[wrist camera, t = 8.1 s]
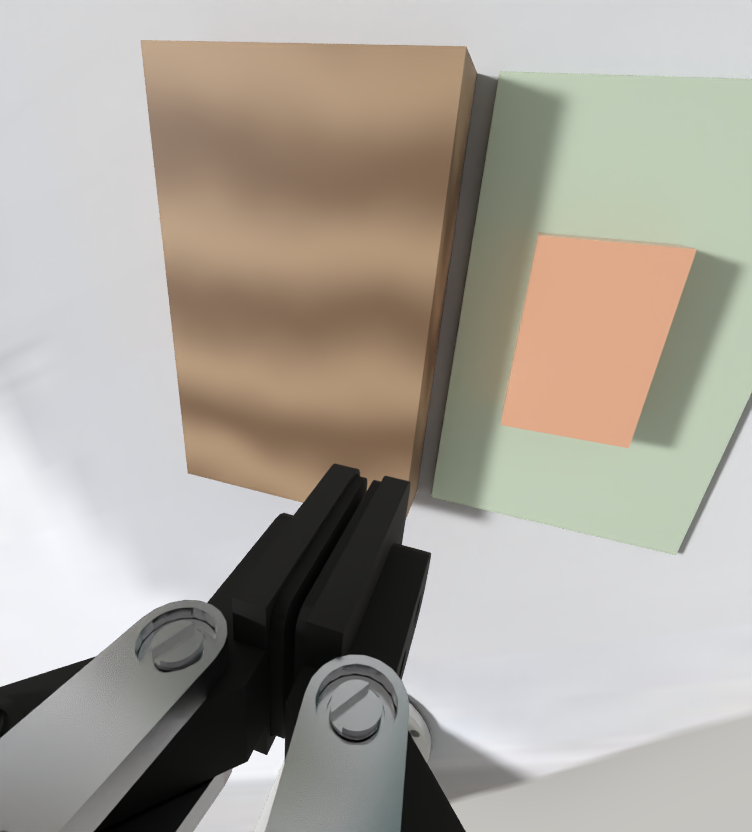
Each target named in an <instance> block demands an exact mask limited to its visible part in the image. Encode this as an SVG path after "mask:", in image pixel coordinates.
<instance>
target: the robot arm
mask: <svg viewBox="0 0 752 832" xmlns="http://www.w3.org/2000/svg"><path fill="white" fill-rule="evenodd" d="M409 493H410V481H406V480H402V479H398V478H394V477H390V476H384V477H383V479H382V481H377V480H373V481H372V483H371V485H370V486H369V488H368V490H367V478H365V477H361V476H360V470H359V469H356V468H352V467H348V466H344V465H340V464H336V463H335V464H333V465H332V466H331V467H330V468H329V470H328V471H327V472H326V474H325V475H324V476H323V478H322V479H321V480H320V482H319V483H318V484H317V486H316V487H315V488H314V489H313V491H312V492H311V493H310V495H309V496H308V497H307V499H306V500H305V501H304V503H303V504H302V505H301V507H300V508H299V509H298V510H297V512H296V513H295V514H294V516H293V515H290V514H286V513H282V514H280V515H279V516H278V517H277V518H276V519H275V520H274V521H273V523H272V524H271V525H270V526H269V527H268V529H267V530H266V531H265V532H264V534H263V535H262V536H261V537H260V539H259V540H258V541H257V542H256V543H255V545H254V546H253V547H252V548H251V550H250V551H249V552H248V553H247V555H246V556H245V557H244V558H243V559H242V561H241V562H240V563H239V564H238V566H237V567H236V568H235V569H234V571H233V572H232V573H231V574H230V575H229V577H228V578H227V579H226V580H225V582H224V583H223V584H222V585H221V587H220V588H219V589H218V590H217V591H216V593H215V594H214V595H213V596H212V598H211V599H210V600H209V601H208V603H205V602H202V601H197V600H182V601H177V602H172V603H168V604H166V605H164V606H161V607H159V608H156V609H154V610H153V611H151V612H150V613H148V614H147V615H146V616H144V617H143V618H141V619H140V620H139V621H138V622H137V623H135V624H134V625H133V626H132V627H131V628H129V629H128V630H127V631H126V632H125V633H124V634H122V635H121V636H120V637H119V638H118V639H117V640H115V641H114V642H113V643H112V644H111V645H109V646H108V647H107V648H106V649H105V650H104V651H102V652H101V653H100V654H99V655H98V656H96V657H93V658H90V659H87V660H83V661H80V662H77V663H74V664H71V665H68V666H65V667H62V668H58V669H55V670H52V671H49V672H46V673H43V674H40V675H37V676H33V677H30V678H27V679H24V680H21V681H18V682H15V683H11V684H8V685H5V686H2V687H0V832H193V831H194V830H195V828H196V827H197V825H198V824H199V822H200V821H201V819H202V818H203V816H204V815H205V814H206V812H207V811H208V809H209V808H210V806H211V805H212V803H213V802H214V800H215V799H216V797H217V796H218V795H219V793H220V792H221V790H222V789H223V787H224V786H225V784H226V782H227V780H228V778H229V776H230V774H231V772H232V768H234V767H236V766H238V765H241V764H243V763H245V762H247V761H248V760H249V758H250V756H251V754H252V752H253V750H255V751H258V752H260V753H263V754H265V755H267V754H268V752H269V750H270V748H271V745H272V743H273V741H274V739H275V737H276V736H278V737H281V738H285V760H284V762H283V764H282V767H281V769H280V771H279V773H278V776H277V778H276V780H275V783H274V785H273V787H272V789H271V792H270V794H269V796H268V799H267V801H266V803H265V805H264V808H263V810H262V812H261V815H260V817H259V819H258V821H257V824H256V826H255V828H254V830H253V832H466V831H465V830H464V828H463V826H462V824H461V823H460V821H459V819H458V818H457V816H456V814H455V812H454V810H453V809H452V807H451V805H450V803H449V801H448V800H447V798H446V796H445V794H444V793H443V791H442V789H441V787H440V786H439V784H438V782H437V780H436V778H435V777H434V775H433V773H432V771H431V770H430V768H429V766H428V764H427V763H428V760H429V756H430V750H431V735H430V732H429V730H428V727H427V725H426V723H425V721H424V720H423V718H422V716H421V715H420V713H419V712H418V711H417V710H416V709H415V708H414V707H413V705H412V704H411V703H410V702H409V701H408V694H407V692H406V689H405V687H404V684H403V682H402V676H403V673H404V669H405V665H406V661H407V658H408V654H409V650H410V646H411V643H412V639H413V635H414V631H415V628H416V624H417V620H418V616H419V612H420V608H421V603H422V599H423V594H424V590H425V585H426V580H427V574H428V569H429V564H430V558H431V553H429V552H426V551H422V550H418V549H415V548H411V547H407V546H404V545H402V539H403V533H404V526H405V519H406V513H407V506H408V500H409Z"/></svg>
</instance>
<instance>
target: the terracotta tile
mask: <svg viewBox="0 0 752 832" xmlns="http://www.w3.org/2000/svg"><path fill="white" fill-rule="evenodd" d="M696 250H697V249H694V248H691V247H687V246H684V245H680V244H669V243H658V242H646V241H635V240H623V239H612V238H600V237H589V236H578V235H566V234H555V233H543V232H538V235H537V240H536V245H535V250H534V254H533V259H532V264H531V269H530V274H529V279H528V284H527V289H526V294H525V299H524V304H523V309H522V314H521V319H520V324H519V329H518V334H517V339H516V344H515V349H514V354H513V359H512V364H511V369H510V374H509V379H508V384H507V389H506V394H505V399H504V404H503V410H502V418H501V425H503V426H508V427H514V428H519V429H525V430H531V431H536V432H542V433H547V434H553V435H558V436H564V437H569V438H575V439H580V440H586V441H591V442H597V443H602V444H608V445H613V446H619V447H624V448H629V446H630V443H631V441H632V438H633V435H634V432H635V429H636V426H637V423H638V420H639V417H640V414H641V411H642V408H643V405H644V403H645V400H646V397H647V394H648V391H649V388H650V385H651V382H652V379H653V376H654V373H655V370H656V367H657V364H658V362H659V359H660V356H661V353H662V350H663V347H664V344H665V341H666V338H667V335H668V332H669V329H670V326H671V324H672V321H673V318H674V315H675V312H676V309H677V306H678V303H679V300H680V297H681V294H682V291H683V288H684V285H685V283H686V280H687V277H688V274H689V271H690V268H691V265H692V262H693V259H694V256H695V253H696Z"/></svg>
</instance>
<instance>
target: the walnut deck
mask: <svg viewBox="0 0 752 832" xmlns="http://www.w3.org/2000/svg"><path fill="white" fill-rule="evenodd" d="M141 48H142V57H143V67H144V76H145V85H146V94H147V103H148V112H149V122H150V131H151V140H152V149H153V158H154V167H155V176H156V186H157V195H158V204H159V213H160V222H161V231H162V241H163V250H164V259H165V268H166V277H167V286H168V295H169V305H170V314H171V323H172V332H173V341H174V350H175V360H176V369H177V378H178V387H179V396H180V405H181V414H182V424H183V433H184V442H185V451H186V460H187V469H188V473H189V474H193V475H197V476H201V477H205V478H209V479H213V480H217V481H220V482H224V483H228V484H232V485H236V486H240V487H244V488H248V489H252V490H256V491H260V492H264V493H267V494H271V495H275V496H279V497H283V498H287V499H291V500H295V501H299V502H303V503H304V501H305V500H306V499H307V497H308V496H309V495H310V493H311V492H312V491H313V489H314V488H315V487H316V486H317V484H318V483H319V482H320V480H321V479H322V478H323V476H324V475H325V474H326V472H327V471H328V470H329V468H330V467H331V466H332V465H333V464H335V463H336V464H340V465H344V466H348V467H352V468H356V469H359V470H360V476H361V477H365V478H367V490H368V488H369V486H370V485H371V483H372V481H373V480H377V481H382V479H383V477H384V476H390V477H394V478H398V479H402V480H406V481H410V493H409V500H408V506H407V513H406V517H407V515H408V512H409V510H410V507H411V504H412V502H413V499H414V497H415V494H416V492H417V487H418V480H419V473H420V466H421V459H422V452H423V445H424V438H425V431H426V424H427V417H428V411H429V404H430V397H431V390H432V383H433V376H434V369H435V362H436V355H437V348H438V341H439V334H440V327H441V320H442V313H443V306H444V299H445V292H446V285H447V278H448V271H449V264H450V257H451V250H452V243H453V236H454V229H455V222H456V215H457V209H458V202H459V195H460V188H461V181H462V174H463V167H464V160H465V153H466V146H467V139H468V132H469V125H470V118H471V111H472V104H473V97H474V90H475V83H476V76H477V72H476V69H475V67H474V64H473V62H472V59H471V57H470V54H469V52H468V50H467V47H465V46H414V45H363V44H311V43H260V42H208V41H157V40H141ZM405 520H406V519H405Z"/></svg>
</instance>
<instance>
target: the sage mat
mask: <svg viewBox="0 0 752 832" xmlns="http://www.w3.org/2000/svg"><path fill="white" fill-rule="evenodd" d="M538 232H543V233H555V234H566V235H578V236H589V237H600V238H612V239H623V240H635V241H646V242H658V243H669V244H680V245H684V246H687V247H691V248H694V249H697V250H696V253H695V256H694V259H693V262H692V265H691V268H690V271H689V274H688V277H687V280H686V283H685V285H684V288H683V291H682V294H681V297H680V300H679V303H678V306H677V309H676V312H675V315H674V318H673V321H672V324H671V326H670V329H669V332H668V335H667V338H666V341H665V344H664V347H663V350H662V353H661V356H660V359H659V362H658V364H657V367H656V370H655V373H654V376H653V379H652V382H651V385H650V388H649V391H648V394H647V397H646V400H645V403H644V405H643V408H642V411H641V414H640V417H639V420H638V423H637V426H636V429H635V432H634V435H633V438H632V441H631V443H630V446H629V448H624V447H619V446H613V445H608V444H602V443H597V442H591V441H586V440H580V439H575V438H569V437H564V436H558V435H553V434H547V433H542V432H536V431H531V430H525V429H519V428H514V427H508V426H503V425H501V418H502V410H503V404H504V399H505V394H506V389H507V384H508V379H509V374H510V369H511V364H512V359H513V354H514V349H515V344H516V339H517V334H518V329H519V324H520V319H521V314H522V309H523V304H524V299H525V294H526V289H527V284H528V279H529V274H530V269H531V264H532V259H533V254H534V250H535V245H536V240H537V235H538ZM751 393H752V79H730V78H698V77H665V76H633V75H600V74H568V73H535V72H503V71H500V72H499V79H498V85H497V91H496V97H495V104H494V110H493V116H492V122H491V128H490V135H489V141H488V147H487V153H486V160H485V166H484V172H483V178H482V185H481V191H480V197H479V203H478V209H477V216H476V222H475V228H474V234H473V241H472V247H471V253H470V259H469V265H468V272H467V278H466V284H465V290H464V297H463V303H462V309H461V315H460V321H459V328H458V334H457V340H456V346H455V353H454V359H453V365H452V371H451V378H450V384H449V390H448V396H447V402H446V409H445V415H444V421H443V427H442V434H441V440H440V446H439V452H438V458H437V465H436V471H435V477H434V483H433V490H432V496H431V497H432V498H437V499H441V500H445V501H449V502H454V503H458V504H462V505H466V506H470V507H475V508H479V509H483V510H487V511H492V512H496V513H500V514H504V515H508V516H513V517H517V518H521V519H525V520H530V521H534V522H538V523H542V524H546V525H551V526H555V527H559V528H563V529H568V530H572V531H576V532H580V533H584V534H589V535H593V536H597V537H601V538H606V539H610V540H614V541H618V542H622V543H627V544H631V545H635V546H639V547H644V548H648V549H652V550H656V551H660V552H665V553H669V554H673V555H676V554H677V552H678V550H679V548H680V546H681V543H682V541H683V539H684V537H685V535H686V533H687V530H688V528H689V526H690V524H691V522H692V520H693V518H694V515H695V513H696V511H697V509H698V507H699V505H700V503H701V500H702V498H703V496H704V494H705V492H706V490H707V487H708V485H709V483H710V481H711V479H712V477H713V475H714V472H715V470H716V468H717V466H718V464H719V462H720V460H721V457H722V455H723V453H724V451H725V449H726V447H727V444H728V442H729V440H730V438H731V436H732V434H733V432H734V429H735V427H736V425H737V423H738V421H739V419H740V417H741V414H742V412H743V410H744V408H745V406H746V404H747V402H748V399H749V397H750V395H751Z"/></svg>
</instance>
